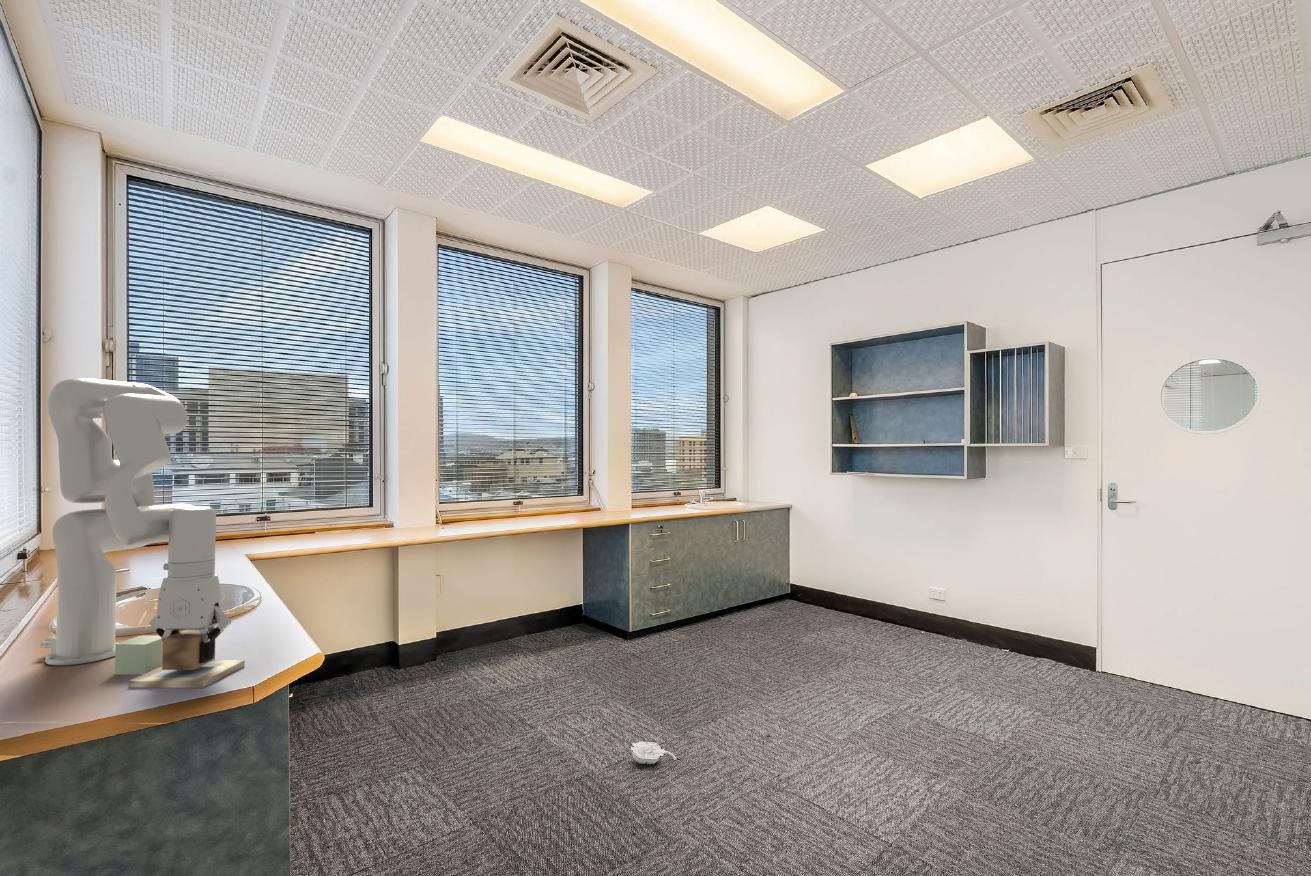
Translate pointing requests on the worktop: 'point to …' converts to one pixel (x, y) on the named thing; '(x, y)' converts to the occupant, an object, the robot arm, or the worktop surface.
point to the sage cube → (138, 655)
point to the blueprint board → (187, 675)
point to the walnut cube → (182, 651)
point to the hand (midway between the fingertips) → (189, 660)
